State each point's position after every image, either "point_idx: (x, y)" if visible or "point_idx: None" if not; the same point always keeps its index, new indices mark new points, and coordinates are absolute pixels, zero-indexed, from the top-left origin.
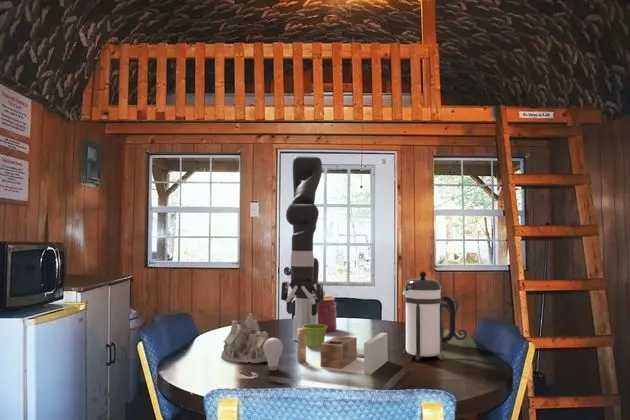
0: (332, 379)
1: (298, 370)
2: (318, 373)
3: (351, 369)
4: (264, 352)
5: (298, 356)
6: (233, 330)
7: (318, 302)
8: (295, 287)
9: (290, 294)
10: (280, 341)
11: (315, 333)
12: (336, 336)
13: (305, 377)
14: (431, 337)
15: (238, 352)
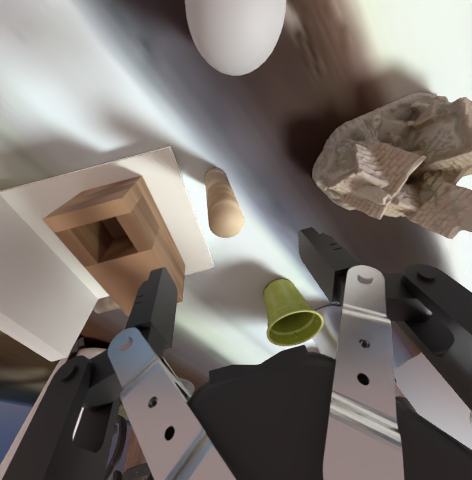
0: (50, 124)
1: (195, 141)
2: (132, 152)
3: (61, 204)
4: None
5: (219, 175)
6: None
7: (95, 356)
8: (370, 478)
9: (374, 329)
10: (206, 24)
11: (278, 309)
12: (178, 297)
13: (120, 86)
14: (38, 397)
15: (409, 125)
